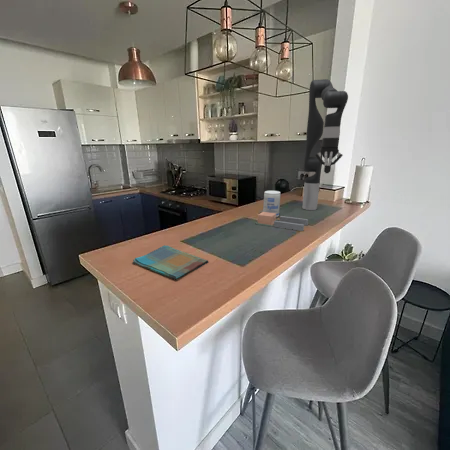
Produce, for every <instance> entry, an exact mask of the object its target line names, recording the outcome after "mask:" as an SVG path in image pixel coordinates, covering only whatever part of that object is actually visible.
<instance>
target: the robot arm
mask: <svg viewBox="0 0 450 450" xmlns="http://www.w3.org/2000/svg"><path fill="white" fill-rule="evenodd" d="M308 91H309V92H308V93H309V94H308V95H309V97H308V114H307V115H308V117H307V123H306V124H307V126H306V139H305V140H306V143H305V152H304V159H303V170H304V172H307V173H314V174H312V175H310V176H307V177H305V178H304V183H303V185H304V186H303V197H302V207H301V208H302V209H303V210H307V211H316V210H317V209H318V203H319V193H320V182H321V173H322V168H323V166H324V168H323V173H324V174H329V173H331V170H332V166H334V165H335V164H336V163H337V162H338V161H340V159H341V158H342V157H343V156H344V155H343V153H341V152H340V150H339V145H340V136H341V124H342V123H341V121H342V116H343V113H344V110H345V109H346V107H347V106H346V105H347V103H348V100H349V94H348V92H347V91H346V90H345V91H344V90H337V89H336V88H335V87H334V86H333V84H332V82H331V80H329V79H313V80H311V82H310V83H309V90H308ZM316 99H321V100H322V105H323V107H324V108H325V109H336V111H334V112H332V113H328V114H326V116H325V117H324V118H325V119H323V118H322V115H321V113H320V112H319V109H318V107H317V102H316ZM321 138H322V140H321V141H322V142H321V148H320V151H319V152H317V153H316V154H315V156H311V153H312V151H313V149H314V147H315V146H316V145H317V143H318V142H319V141H320V139H321ZM322 157H323V158H322ZM335 157H336V158H335ZM334 158H335V159H334ZM323 159H324V160H323ZM333 159H334V160H333ZM332 161H333V162H332Z"/></svg>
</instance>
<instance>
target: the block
mask: <svg viewBox="0 0 450 450" xmlns="http://www.w3.org/2000/svg"><path fill="white" fill-rule="evenodd" d="M276 219H277V217H276V213H269V212H263V211H262V212H260V213H258V214H257V221H258V223H261V224H267V225H273V226H274V221H276Z"/></svg>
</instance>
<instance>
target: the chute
mask: <svg viewBox="0 0 450 450" xmlns="http://www.w3.org/2000/svg"><path fill="white" fill-rule="evenodd" d="M279 220H280V221H274V224H273V227H274V228H280V229H285V228H286V230H292V229H293V231H294V230H295V231H300V232H304V230H305V226H308V225H309V219H307V218H301V217H300V218H299V217H294V216H293V217H292V216H284V215H279Z"/></svg>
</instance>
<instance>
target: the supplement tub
mask: <svg viewBox="0 0 450 450" xmlns="http://www.w3.org/2000/svg"><path fill="white" fill-rule="evenodd" d="M280 205H281V191H279V190H265V191H264V194H263V207H262V209H263V210H262V212H269V213H276V218H278V217H280Z"/></svg>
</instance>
